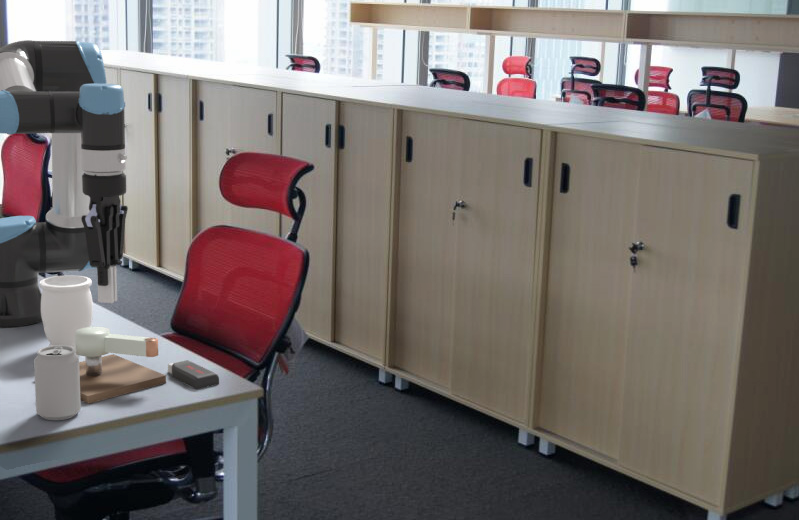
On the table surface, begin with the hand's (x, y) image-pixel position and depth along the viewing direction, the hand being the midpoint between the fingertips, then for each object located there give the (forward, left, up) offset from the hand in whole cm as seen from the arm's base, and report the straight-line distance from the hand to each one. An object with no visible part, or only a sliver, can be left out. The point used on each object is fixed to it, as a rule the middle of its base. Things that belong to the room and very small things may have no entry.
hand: (107, 301), depth 191 cm
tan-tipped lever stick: (-5, +5, -12) cm, 14 cm away
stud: (-10, +3, -17) cm, 20 cm away
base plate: (-9, +4, -18) cm, 21 cm away
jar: (-31, +10, -19) cm, 37 cm away
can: (+1, -11, -19) cm, 22 cm away
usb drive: (+1, +17, -19) cm, 26 cm away
